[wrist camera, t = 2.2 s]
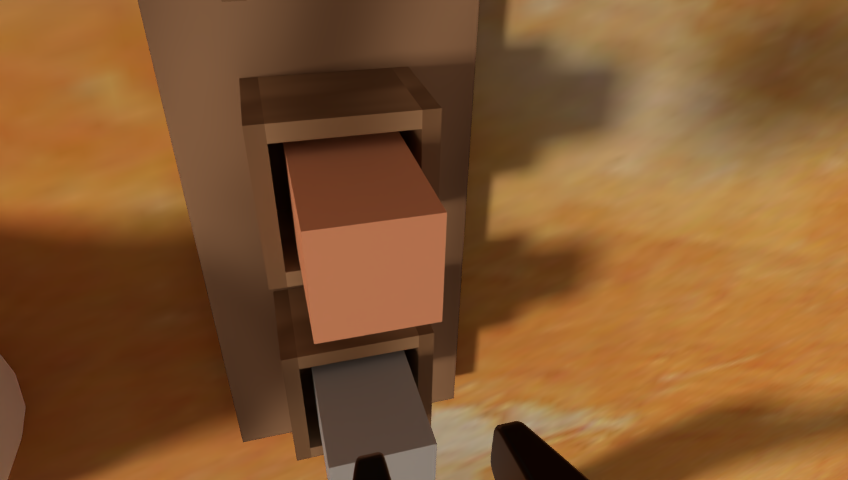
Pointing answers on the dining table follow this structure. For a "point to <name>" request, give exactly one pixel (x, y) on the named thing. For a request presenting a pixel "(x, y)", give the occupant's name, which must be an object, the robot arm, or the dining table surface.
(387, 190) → the orange rectangular block
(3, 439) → the honey pot
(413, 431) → the grey chamfered block
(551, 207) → the dining table surface
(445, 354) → the brown block rack
